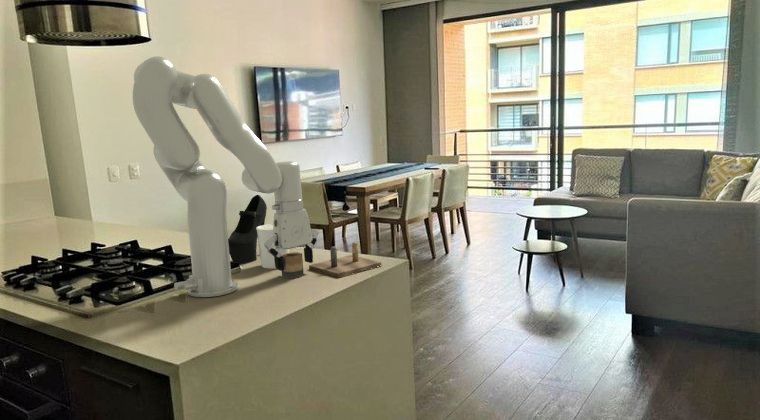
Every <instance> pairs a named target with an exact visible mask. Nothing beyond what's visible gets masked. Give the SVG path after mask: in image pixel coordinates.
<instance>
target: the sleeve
mask: <svg viewBox="0 0 760 420" xmlns="http://www.w3.org/2000/svg"><path fill="white" fill-rule="evenodd" d="M281 256H282V257H283V262H284V271H281V277H282V278H284V279H296V278H300V277H303V276H304V259H303V253H301V252H298V251H295V252H289V253H285V254H282V255H281Z"/></svg>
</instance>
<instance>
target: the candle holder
mask: <svg viewBox="0 0 760 420" xmlns="http://www.w3.org/2000/svg"><path fill="white" fill-rule="evenodd" d="M256 230H257V236H258V237H257V245H258V249H259V258H260V263H261V264H260V265H261V267H262V268H264V269H269V270H271V269H276V267H275V260H274V256H273V255H272V254H271V253H269V252H268V250H267V248H266V247H265V245H264V243H265V242H266V241H267V240H269V239H270V238H271V237H272V236H273V223H270V224H269V223H268V224H264V225H262V226H258V227H257V228H256ZM272 247H273V249H275V247H276V246H275V244H274V243H273V244H272ZM285 253H290V249H284V251H283V253H282V254H285ZM276 270H277V269H276Z"/></svg>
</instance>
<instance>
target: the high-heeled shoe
mask: <svg viewBox="0 0 760 420" xmlns="http://www.w3.org/2000/svg"><path fill="white" fill-rule="evenodd" d="M267 206H268V205H267V203H266V201H265V199H264V198H263V197H261V195H260V194H256V195H254V196H252V198H251V199H250V201H249V203H248V204H247V207H246V208H245V209H244V210H240V211H239V212H238V215H239V220H238V222H237V225H236V227H235V229H234V230H233V231H232V232H231V233H230V235H229V236H228V243H229V255H230V260H231V262H232V263H234V264H249V263H252V262H255V261H256V260H257V259H258V258H257V248H258V247H257V245H258V236H257V230H256V228H257V227H258V226H262V225H265V223H266V222H265V221H266V216H267V211H268V210H267V209H268V208H267Z"/></svg>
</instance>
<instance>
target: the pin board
mask: <svg viewBox="0 0 760 420" xmlns="http://www.w3.org/2000/svg"><path fill="white" fill-rule="evenodd" d="M337 249H338V248H337V247H336V246H335V245H334V246H331V247H330V249H329V251H330V259H329V260H326V261H322V262H317V263H313V264H312V263H311V264H308V270H311V271H314V272H318V273H321V274H324V275H327V274H328V276H331V275H332V277H334V276H335V278H338V277H340V278H343V277H342V276H344V277H346V276H345V275H347V276H349V275H348V274H351V275H353V274H352V273H355V274H357V273H356V272H358V273H360V272H359V271H362V272H364V271H363V270H366V271H368V270H367V269H369V270H372V269H371V268H373V269H375V268H374V267H377V266H380V265H381V266H382V262H381V261H378V260H373V259H370V258H364V257H361V256H359V243H358V242H357V241H353V242H352V243H351V254H350V255H346V256H342V257H338V253H337ZM381 266H380V267H381ZM377 268H378V267H377Z"/></svg>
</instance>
